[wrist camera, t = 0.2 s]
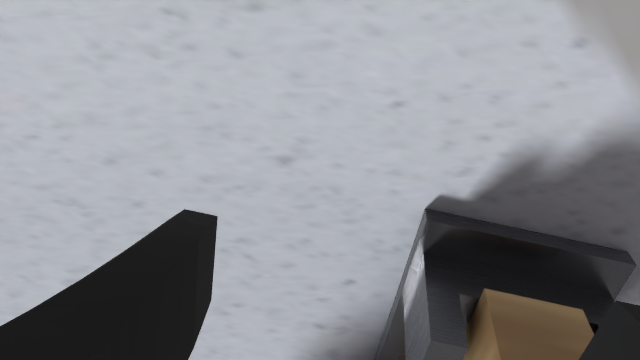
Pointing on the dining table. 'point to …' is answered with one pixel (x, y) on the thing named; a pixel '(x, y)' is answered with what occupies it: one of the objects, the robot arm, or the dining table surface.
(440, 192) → the dining table surface
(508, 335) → the oak rail
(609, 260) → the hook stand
